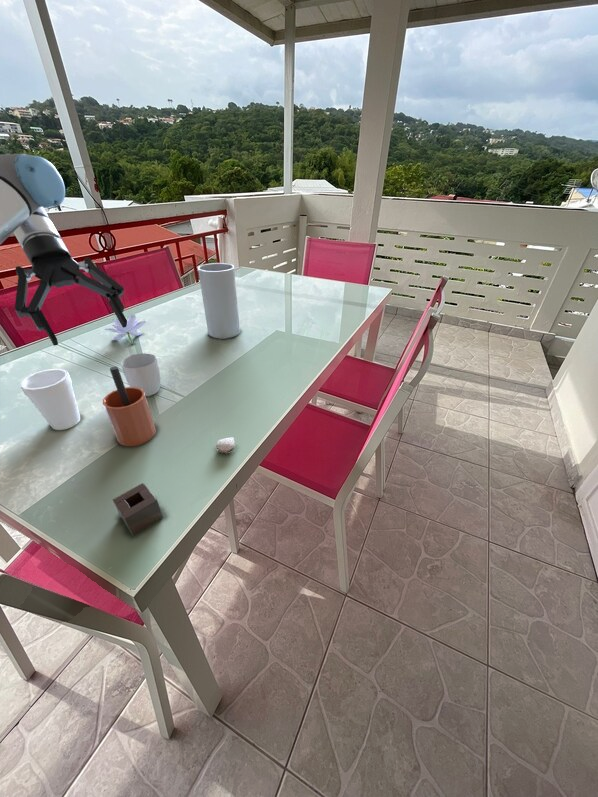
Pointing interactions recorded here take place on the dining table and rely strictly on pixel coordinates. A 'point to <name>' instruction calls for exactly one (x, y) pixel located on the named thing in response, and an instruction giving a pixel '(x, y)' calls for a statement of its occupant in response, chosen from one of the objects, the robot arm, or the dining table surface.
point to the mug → (142, 372)
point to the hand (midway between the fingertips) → (92, 333)
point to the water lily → (126, 328)
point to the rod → (120, 386)
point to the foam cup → (53, 397)
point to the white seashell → (225, 445)
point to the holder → (138, 508)
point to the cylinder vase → (219, 299)
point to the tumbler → (130, 417)
